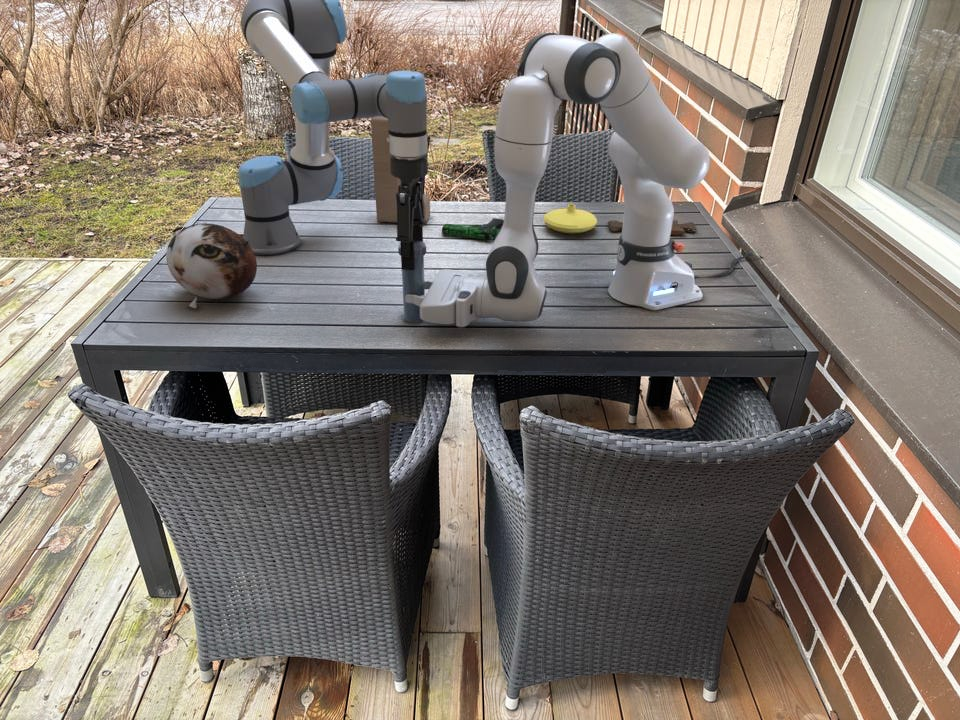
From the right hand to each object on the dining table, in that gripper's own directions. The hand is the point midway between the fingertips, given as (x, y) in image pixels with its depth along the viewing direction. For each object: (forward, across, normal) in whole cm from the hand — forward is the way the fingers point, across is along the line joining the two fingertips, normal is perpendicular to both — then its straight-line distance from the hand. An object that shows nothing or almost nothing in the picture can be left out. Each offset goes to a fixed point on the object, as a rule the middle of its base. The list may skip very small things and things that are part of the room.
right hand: (409, 291), depth 158 cm
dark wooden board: (-55, -69, +6) cm, 89 cm away
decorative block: (+19, -61, +6) cm, 64 cm away
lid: (-1, 0, -11) cm, 11 cm away
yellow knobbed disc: (-31, -64, +6) cm, 72 cm away
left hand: (-1, 0, -7) cm, 7 cm away
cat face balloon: (+47, -1, +6) cm, 48 cm away
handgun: (-5, -56, +6) cm, 56 cm away
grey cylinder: (-1, 0, +6) cm, 6 cm away
